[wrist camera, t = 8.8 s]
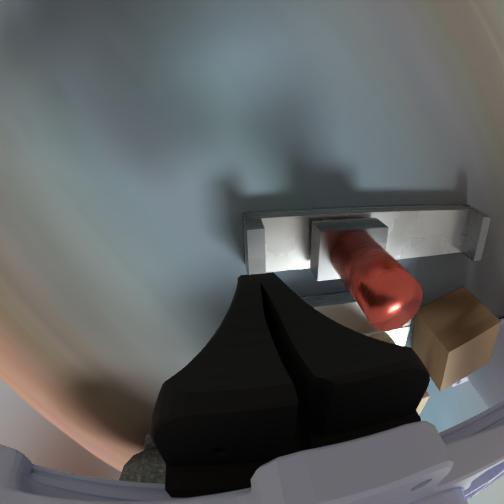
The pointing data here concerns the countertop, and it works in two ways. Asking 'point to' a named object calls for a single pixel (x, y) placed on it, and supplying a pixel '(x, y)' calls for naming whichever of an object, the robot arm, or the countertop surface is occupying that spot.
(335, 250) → the lever
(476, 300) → the block
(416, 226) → the rail
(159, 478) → the mortar and pestle
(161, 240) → the countertop surface
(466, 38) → the countertop surface
